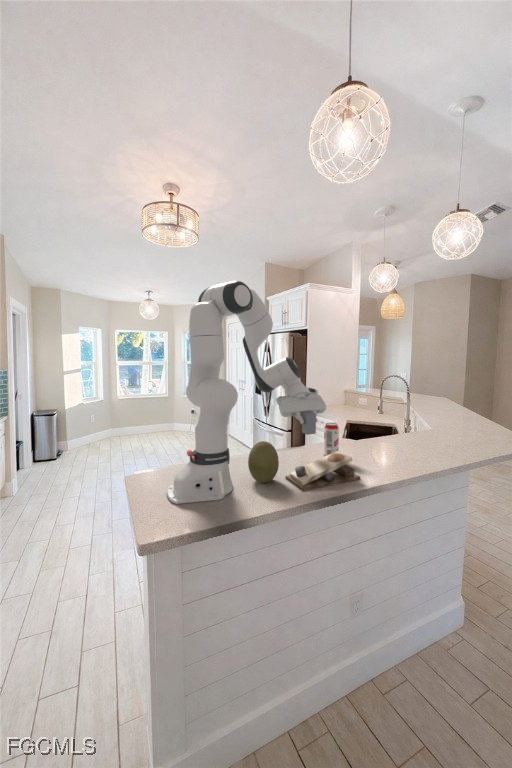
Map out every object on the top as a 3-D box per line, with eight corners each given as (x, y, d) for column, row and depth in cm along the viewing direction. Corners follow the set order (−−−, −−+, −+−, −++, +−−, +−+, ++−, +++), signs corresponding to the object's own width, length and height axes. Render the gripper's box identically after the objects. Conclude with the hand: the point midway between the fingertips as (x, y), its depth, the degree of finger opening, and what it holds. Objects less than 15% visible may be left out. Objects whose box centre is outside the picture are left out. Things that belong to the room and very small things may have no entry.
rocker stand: (301, 490, 109) (301, 479, 109) (285, 478, 120) (285, 468, 120) (360, 479, 118) (360, 468, 118) (340, 468, 129) (340, 459, 129)
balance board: (303, 485, 111) (300, 475, 110) (290, 476, 119) (288, 467, 118) (352, 460, 118) (350, 451, 118) (337, 454, 127) (335, 445, 126)
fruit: (244, 478, 121) (243, 439, 120) (271, 473, 125) (271, 436, 124) (254, 489, 110) (254, 447, 109) (284, 484, 114) (283, 443, 113)
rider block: (307, 434, 125) (307, 414, 124) (301, 432, 128) (301, 412, 128) (315, 433, 126) (315, 413, 126) (310, 431, 130) (310, 412, 129)
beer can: (322, 460, 140) (322, 424, 138) (326, 456, 145) (326, 421, 144) (336, 462, 137) (336, 426, 135) (340, 458, 142) (340, 423, 141)
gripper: (277, 392, 128) (289, 420, 120) (320, 389, 136) (334, 415, 128) (272, 401, 133) (283, 429, 125) (314, 398, 141) (327, 424, 133)
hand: (309, 422), depth 126 cm, fingers closed on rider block, 4 cm apart
